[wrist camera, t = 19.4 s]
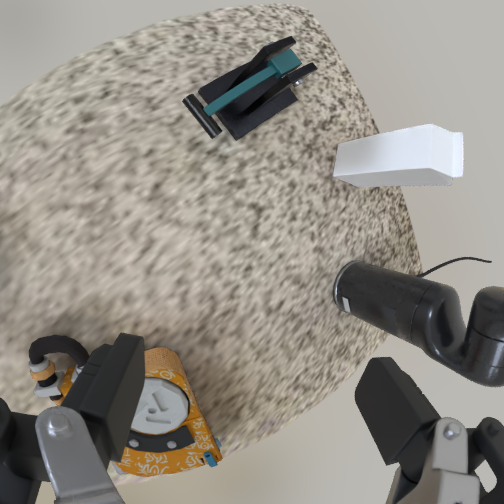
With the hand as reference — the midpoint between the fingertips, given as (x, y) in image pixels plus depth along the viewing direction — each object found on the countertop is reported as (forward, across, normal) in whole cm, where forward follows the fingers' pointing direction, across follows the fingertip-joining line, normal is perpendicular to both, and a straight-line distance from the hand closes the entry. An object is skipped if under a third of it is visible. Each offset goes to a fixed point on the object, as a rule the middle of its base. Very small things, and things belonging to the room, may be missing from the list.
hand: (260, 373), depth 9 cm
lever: (+24, +2, -16) cm, 29 cm away
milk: (+38, -17, -11) cm, 43 cm away
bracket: (+34, +1, -18) cm, 38 cm away
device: (+22, +13, +28) cm, 38 cm away
